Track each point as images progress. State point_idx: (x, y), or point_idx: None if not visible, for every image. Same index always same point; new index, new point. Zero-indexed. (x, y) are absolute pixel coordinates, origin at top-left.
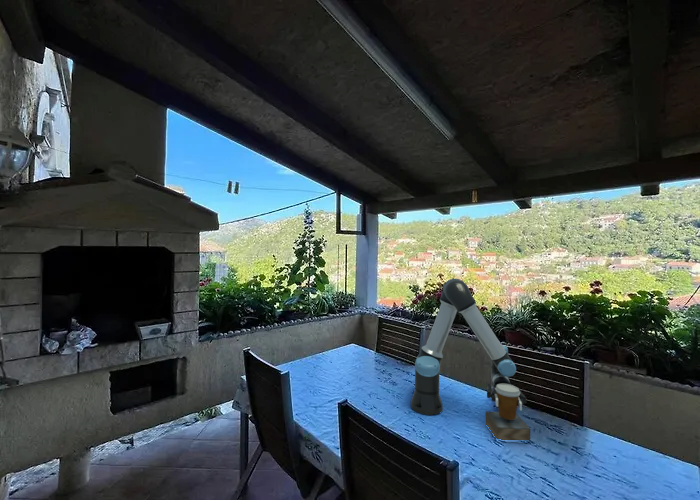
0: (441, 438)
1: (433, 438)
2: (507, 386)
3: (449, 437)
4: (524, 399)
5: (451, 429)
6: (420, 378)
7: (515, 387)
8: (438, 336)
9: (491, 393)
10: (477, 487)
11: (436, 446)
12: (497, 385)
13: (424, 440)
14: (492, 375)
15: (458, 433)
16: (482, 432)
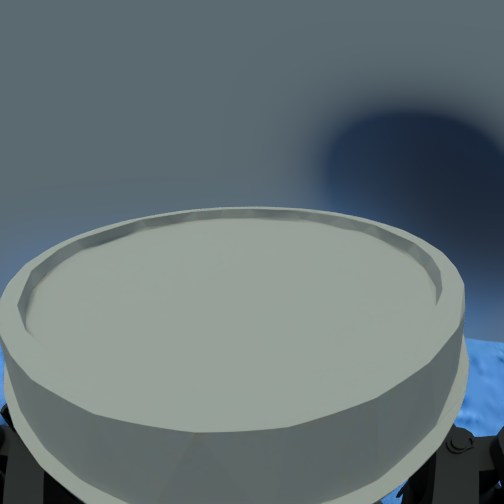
0: (483, 374)
1: (494, 364)
2: (190, 320)
3: (472, 391)
4: (7, 428)
5: (496, 435)
6: None
7: (25, 297)
8: None
9: (476, 468)
10: None
11: (467, 343)
12: (432, 257)
13: (499, 347)
14: None
15: (466, 428)
16: (387, 497)
